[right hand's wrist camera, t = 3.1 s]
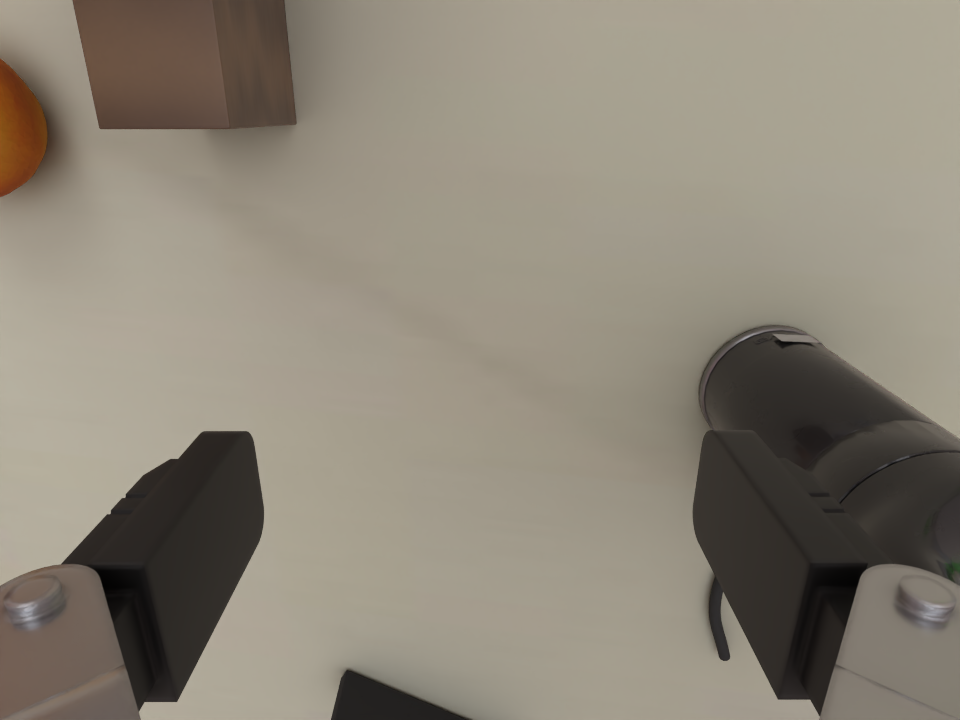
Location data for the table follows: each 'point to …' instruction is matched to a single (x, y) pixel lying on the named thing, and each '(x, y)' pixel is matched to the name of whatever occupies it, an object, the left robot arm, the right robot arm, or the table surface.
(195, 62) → the box
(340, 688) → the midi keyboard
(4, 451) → the table surface
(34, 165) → the fruit
